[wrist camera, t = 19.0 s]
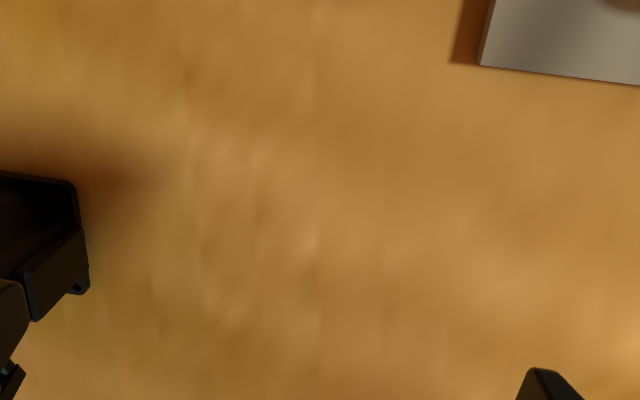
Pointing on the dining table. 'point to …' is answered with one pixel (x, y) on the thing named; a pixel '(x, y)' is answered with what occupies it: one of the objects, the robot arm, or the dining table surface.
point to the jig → (564, 38)
